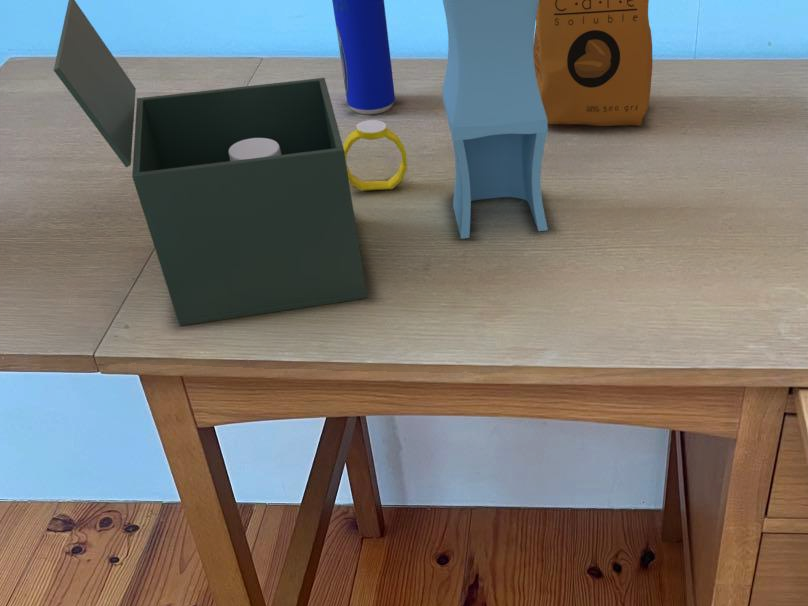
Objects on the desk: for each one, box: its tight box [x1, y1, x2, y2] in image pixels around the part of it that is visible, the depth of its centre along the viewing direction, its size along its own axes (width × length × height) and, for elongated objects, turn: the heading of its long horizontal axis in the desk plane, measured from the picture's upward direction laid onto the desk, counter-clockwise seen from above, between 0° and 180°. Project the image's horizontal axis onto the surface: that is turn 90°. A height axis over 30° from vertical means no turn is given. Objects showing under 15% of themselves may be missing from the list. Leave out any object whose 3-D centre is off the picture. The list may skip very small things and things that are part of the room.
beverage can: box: [331, 0, 396, 115], centre depth 104 cm, size 5×5×15 cm
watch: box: [342, 119, 408, 192], centre depth 94 cm, size 6×3×6 cm, turn 101°
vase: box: [441, 0, 549, 240], centre depth 85 cm, size 8×8×20 cm
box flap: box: [53, 0, 137, 168], centre depth 73 cm, size 7×14×1 cm
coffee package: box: [533, 0, 653, 127], centre depth 99 cm, size 10×12×22 cm
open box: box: [131, 77, 368, 327], centre depth 81 cm, size 15×14×12 cm
